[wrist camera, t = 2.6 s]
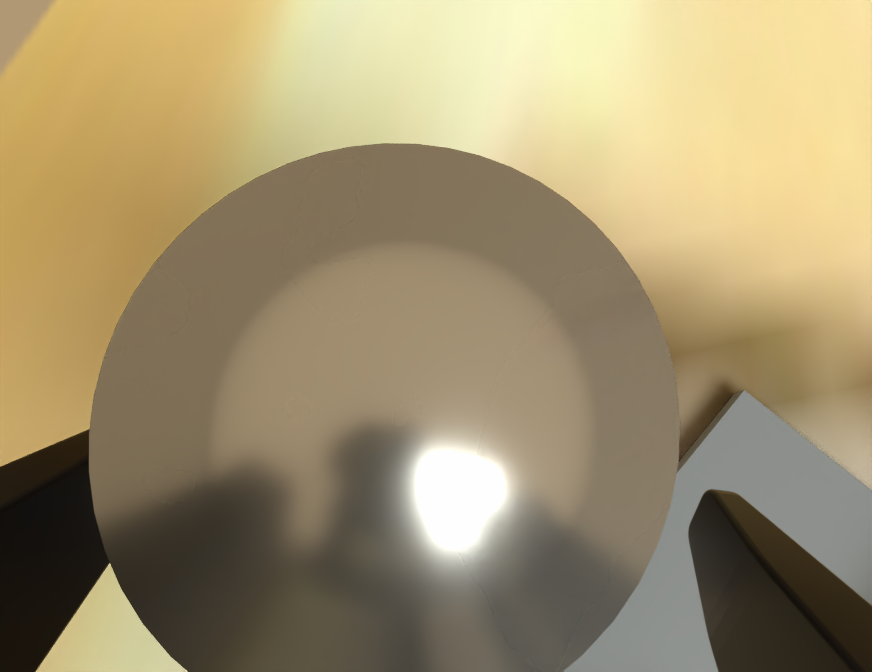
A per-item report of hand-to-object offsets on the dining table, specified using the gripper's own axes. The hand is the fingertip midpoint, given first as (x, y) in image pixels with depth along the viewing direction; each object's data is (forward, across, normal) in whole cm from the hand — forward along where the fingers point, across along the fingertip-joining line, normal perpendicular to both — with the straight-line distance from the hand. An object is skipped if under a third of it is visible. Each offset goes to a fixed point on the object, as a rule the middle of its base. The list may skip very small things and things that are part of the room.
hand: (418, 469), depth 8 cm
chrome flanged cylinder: (+6, 0, +6) cm, 8 cm away
